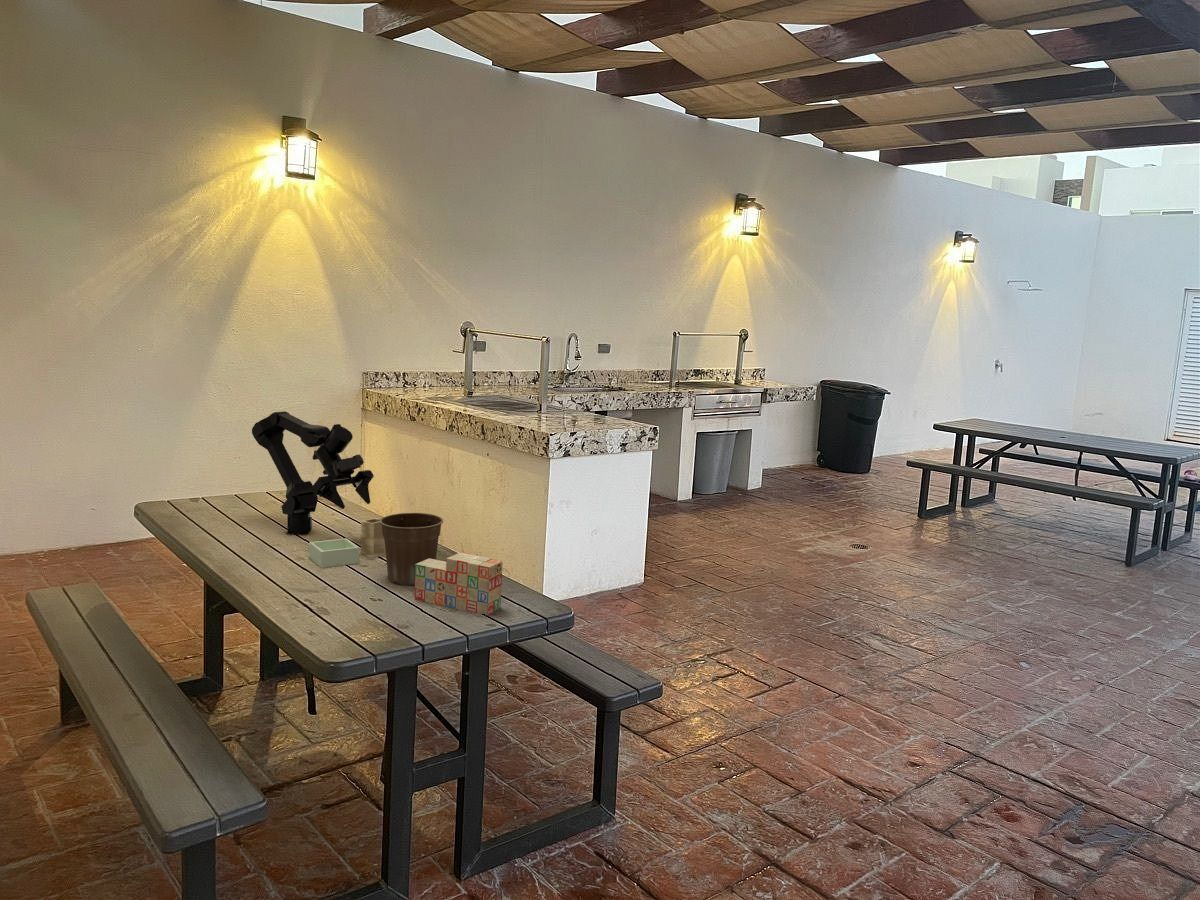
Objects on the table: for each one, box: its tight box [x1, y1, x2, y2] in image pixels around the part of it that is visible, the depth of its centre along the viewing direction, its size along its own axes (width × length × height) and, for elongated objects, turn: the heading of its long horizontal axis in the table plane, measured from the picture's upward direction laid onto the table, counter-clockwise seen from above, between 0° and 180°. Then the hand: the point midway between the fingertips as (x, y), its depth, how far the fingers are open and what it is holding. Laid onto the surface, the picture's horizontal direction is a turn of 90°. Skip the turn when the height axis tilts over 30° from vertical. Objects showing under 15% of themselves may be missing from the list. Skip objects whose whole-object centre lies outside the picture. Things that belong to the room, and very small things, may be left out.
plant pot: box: [379, 512, 444, 586], centre depth 241 cm, size 16×16×16 cm
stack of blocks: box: [414, 552, 504, 616], centre depth 224 cm, size 21×6×12 cm, turn 65°
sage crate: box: [308, 538, 360, 569], centre depth 255 cm, size 11×11×4 cm
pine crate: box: [360, 517, 386, 559], centre depth 262 cm, size 5×5×10 cm
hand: (356, 505), depth 265 cm, fingers open, 9 cm apart
